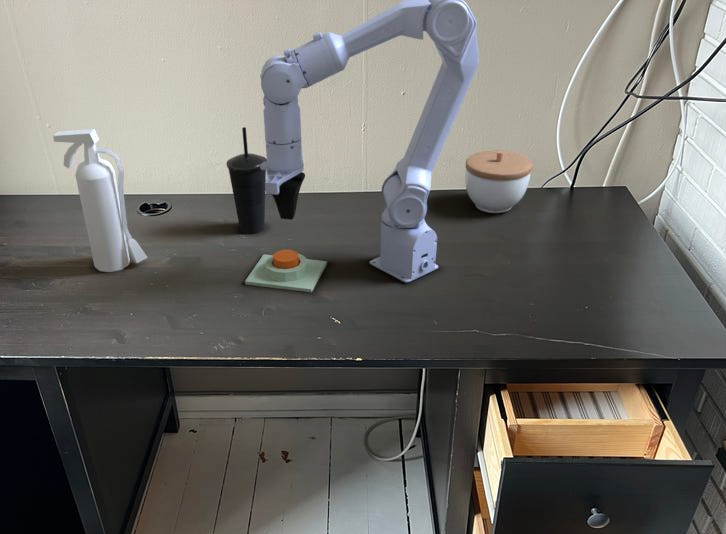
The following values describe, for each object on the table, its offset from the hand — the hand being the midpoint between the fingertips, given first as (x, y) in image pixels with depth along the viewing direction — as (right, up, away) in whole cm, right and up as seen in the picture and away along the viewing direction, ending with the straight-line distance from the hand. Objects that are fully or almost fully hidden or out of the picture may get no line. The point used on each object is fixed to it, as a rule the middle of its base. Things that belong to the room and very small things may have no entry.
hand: (287, 217), depth 124 cm
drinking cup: (-7, +2, +21) cm, 22 cm away
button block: (0, -9, +5) cm, 10 cm away
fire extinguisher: (-31, -7, +11) cm, 34 cm away
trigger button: (0, -7, +4) cm, 8 cm away
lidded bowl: (+42, +7, +24) cm, 48 cm away
